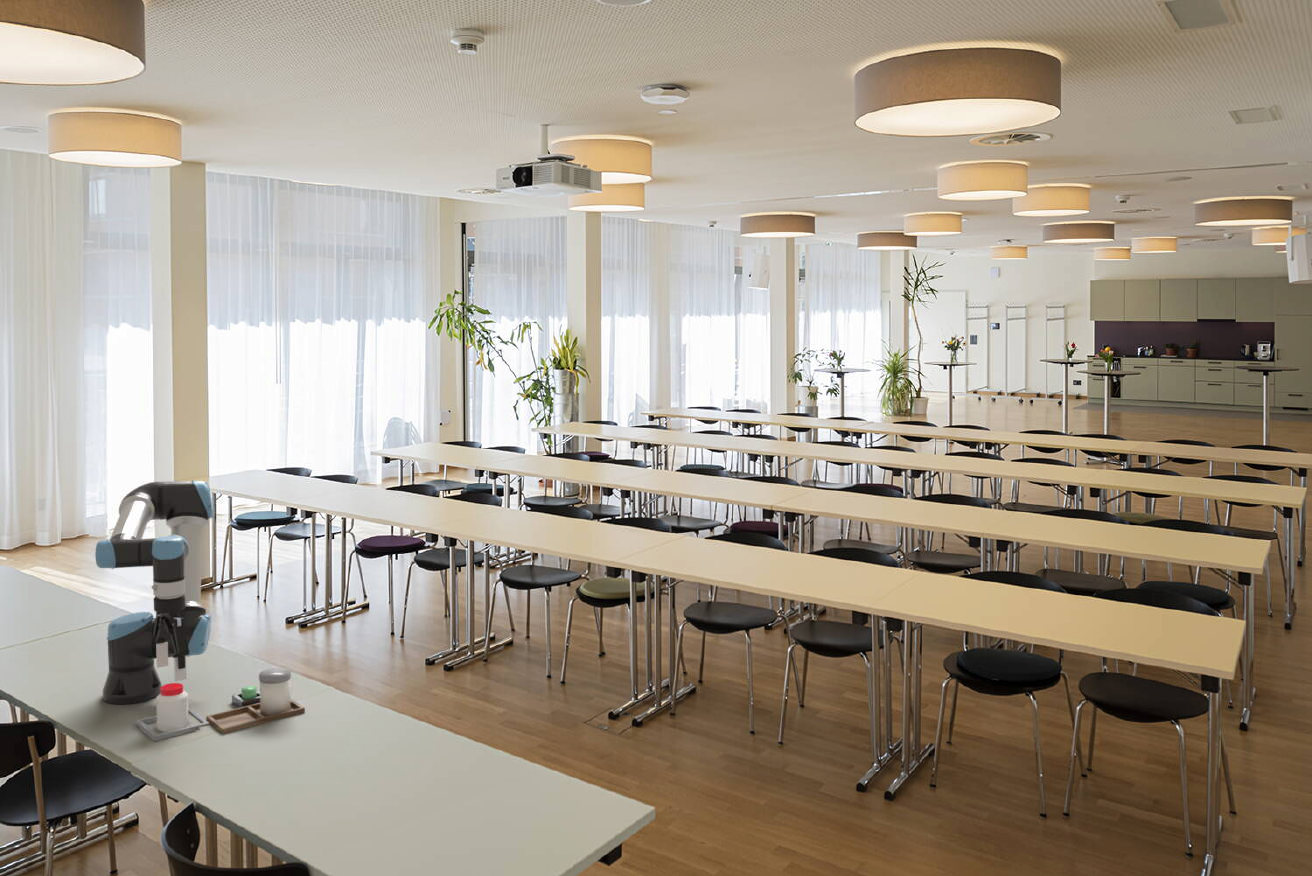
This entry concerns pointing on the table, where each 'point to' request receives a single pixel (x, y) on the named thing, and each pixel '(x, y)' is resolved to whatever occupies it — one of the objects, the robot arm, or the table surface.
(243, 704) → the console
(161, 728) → the pill bottle
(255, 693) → the button
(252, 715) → the brown divided tray
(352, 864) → the table surface
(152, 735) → the tray
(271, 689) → the seated part
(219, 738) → the table surface
